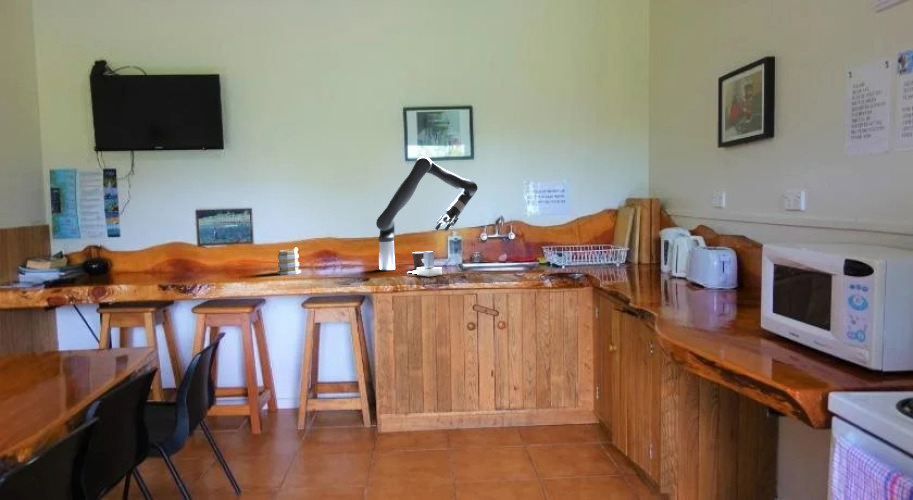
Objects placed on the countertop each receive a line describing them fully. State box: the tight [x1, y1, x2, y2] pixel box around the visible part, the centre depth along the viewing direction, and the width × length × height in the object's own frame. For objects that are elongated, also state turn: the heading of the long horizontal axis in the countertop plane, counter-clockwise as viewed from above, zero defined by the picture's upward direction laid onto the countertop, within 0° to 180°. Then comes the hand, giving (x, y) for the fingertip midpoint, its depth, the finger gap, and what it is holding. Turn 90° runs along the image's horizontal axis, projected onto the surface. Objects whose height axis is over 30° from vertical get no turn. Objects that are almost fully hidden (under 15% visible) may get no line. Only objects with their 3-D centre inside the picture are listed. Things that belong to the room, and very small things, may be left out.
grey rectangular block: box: [423, 250, 435, 269], centre depth 325 cm, size 4×4×12 cm
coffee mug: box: [412, 251, 425, 270], centre depth 354 cm, size 12×9×10 cm
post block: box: [407, 266, 443, 278], centre depth 329 cm, size 20×10×4 cm, turn 39°
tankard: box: [276, 246, 302, 276], centre depth 354 cm, size 20×13×15 cm, turn 168°
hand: (440, 229), depth 334 cm, fingers open, 8 cm apart
